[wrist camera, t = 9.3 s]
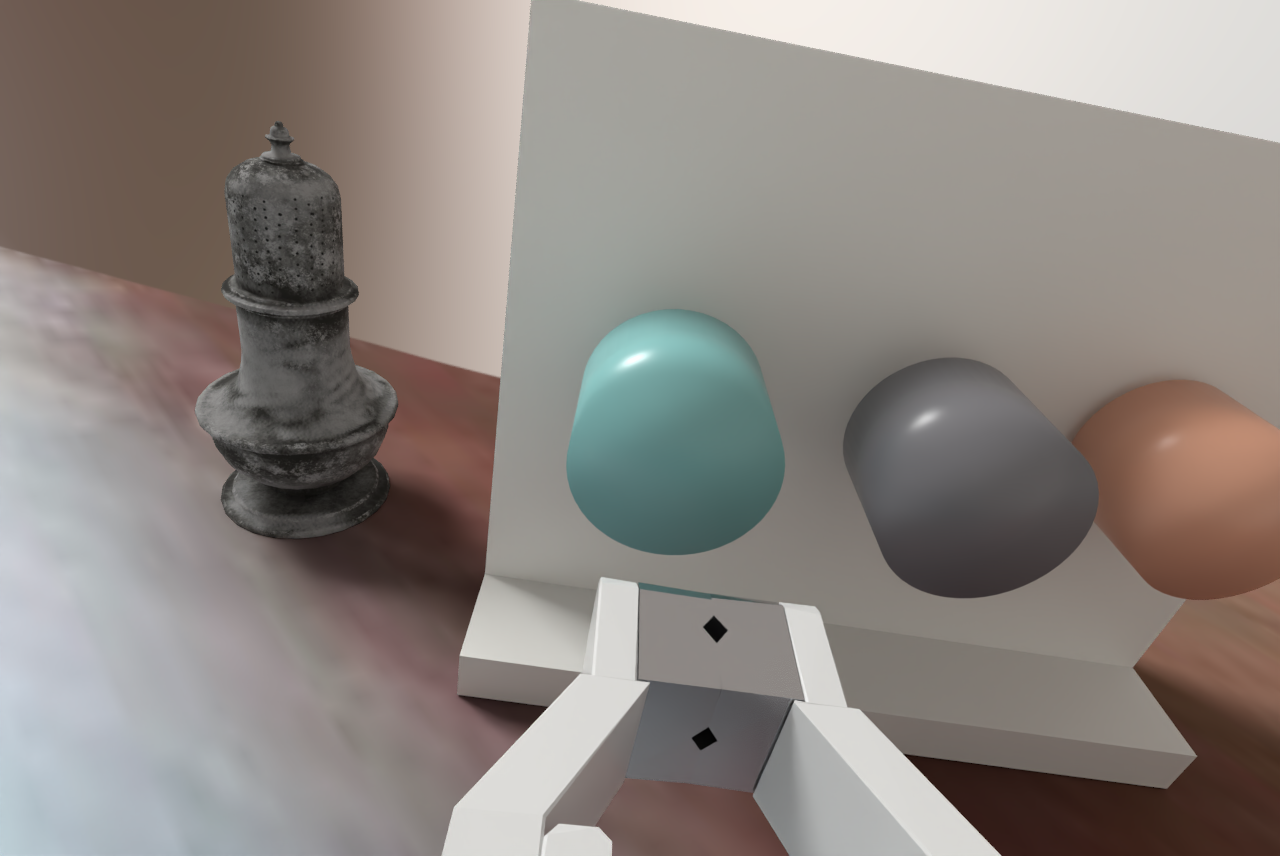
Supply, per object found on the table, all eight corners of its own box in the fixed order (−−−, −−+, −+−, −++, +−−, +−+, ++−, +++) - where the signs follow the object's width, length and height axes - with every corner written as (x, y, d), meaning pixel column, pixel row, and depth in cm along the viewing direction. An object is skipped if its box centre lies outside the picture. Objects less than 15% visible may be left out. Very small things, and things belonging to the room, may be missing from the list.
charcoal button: (850, 583, 14) (925, 413, 12) (820, 495, 17) (878, 343, 15) (1037, 610, 14) (1142, 449, 12) (980, 520, 17) (1057, 374, 15)
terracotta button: (1098, 585, 15) (1203, 434, 13) (1036, 504, 18) (1115, 366, 16) (1265, 610, 16) (1392, 466, 14) (1179, 527, 18) (1276, 394, 16)
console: (457, 694, 18) (500, -16, 10) (501, 545, 24) (553, -5, 15) (1166, 788, 20) (1696, 227, 12) (1061, 628, 25) (1377, 162, 17)
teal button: (554, 538, 14) (581, 355, 12) (570, 455, 16) (595, 293, 14) (754, 568, 14) (812, 394, 12) (738, 482, 17) (785, 326, 14)
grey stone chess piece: (394, 541, 23) (392, 161, 17) (189, 548, 21) (102, 125, 15) (401, 442, 28) (400, 118, 22) (233, 441, 26) (182, 87, 20)
